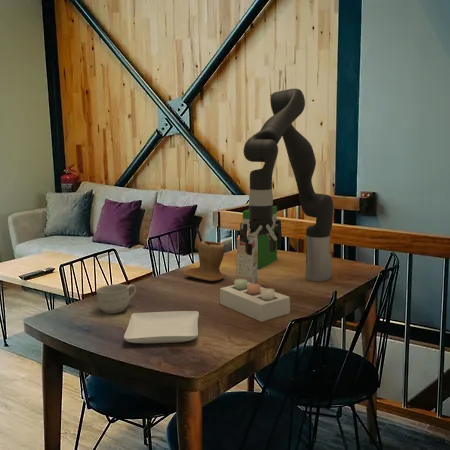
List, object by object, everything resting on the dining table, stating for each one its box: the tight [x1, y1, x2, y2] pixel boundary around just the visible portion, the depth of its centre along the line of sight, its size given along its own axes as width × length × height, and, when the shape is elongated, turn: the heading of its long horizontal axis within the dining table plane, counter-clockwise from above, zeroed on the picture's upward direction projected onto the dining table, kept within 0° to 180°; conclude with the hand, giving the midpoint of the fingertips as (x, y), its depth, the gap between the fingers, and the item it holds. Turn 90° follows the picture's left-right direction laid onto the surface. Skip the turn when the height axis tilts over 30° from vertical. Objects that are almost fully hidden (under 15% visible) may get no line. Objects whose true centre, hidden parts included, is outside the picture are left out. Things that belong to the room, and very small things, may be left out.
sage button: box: [233, 278, 247, 290], centre depth 196 cm, size 4×4×3 cm
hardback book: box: [242, 205, 278, 271], centre depth 245 cm, size 18×7×24 cm, turn 150°
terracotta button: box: [247, 283, 262, 295], centre depth 191 cm, size 4×4×3 cm
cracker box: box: [236, 231, 258, 284], centre depth 210 cm, size 14×6×21 cm, turn 168°
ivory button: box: [261, 287, 275, 301], centre depth 185 cm, size 4×4×3 cm
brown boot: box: [183, 240, 226, 282], centre depth 226 cm, size 15×12×15 cm
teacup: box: [95, 283, 137, 314], centre depth 192 cm, size 14×11×8 cm
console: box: [219, 282, 291, 323], centre depth 191 cm, size 12×22×6 cm, turn 36°
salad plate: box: [123, 310, 200, 344], centre depth 172 cm, size 21×21×3 cm
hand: (260, 253), depth 184 cm, fingers open, 8 cm apart
